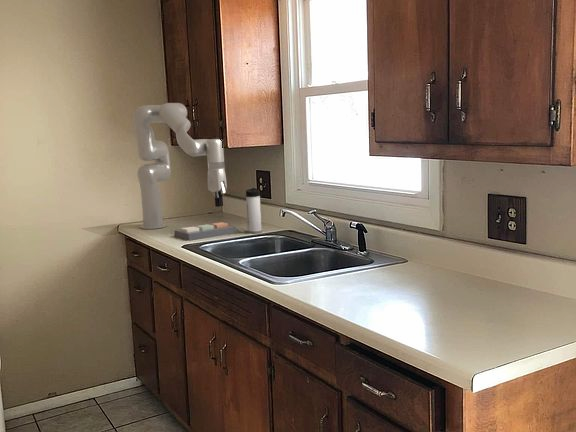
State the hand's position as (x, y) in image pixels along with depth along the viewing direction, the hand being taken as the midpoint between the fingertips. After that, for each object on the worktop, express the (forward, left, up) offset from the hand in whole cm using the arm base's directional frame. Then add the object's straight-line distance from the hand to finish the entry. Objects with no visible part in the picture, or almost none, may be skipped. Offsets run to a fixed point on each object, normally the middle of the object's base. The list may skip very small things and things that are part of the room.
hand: (219, 206), depth 299 cm
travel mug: (+11, +11, -13) cm, 20 cm away
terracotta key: (-1, 0, -11) cm, 11 cm away
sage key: (-1, -8, -11) cm, 13 cm away
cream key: (-1, -15, -11) cm, 19 cm away
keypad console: (-1, -8, -12) cm, 15 cm away
